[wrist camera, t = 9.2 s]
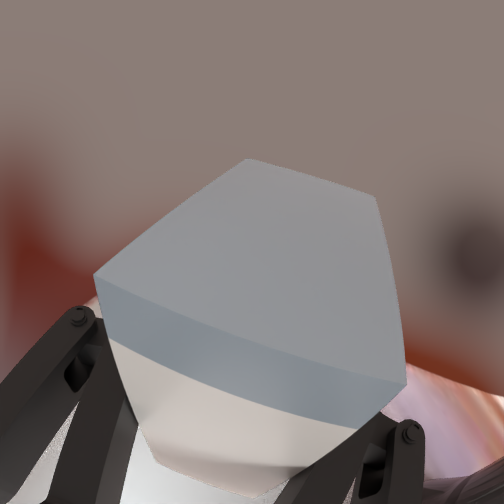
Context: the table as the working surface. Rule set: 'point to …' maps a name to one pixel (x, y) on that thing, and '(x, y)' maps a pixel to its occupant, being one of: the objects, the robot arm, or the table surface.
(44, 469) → the table surface
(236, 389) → the block
